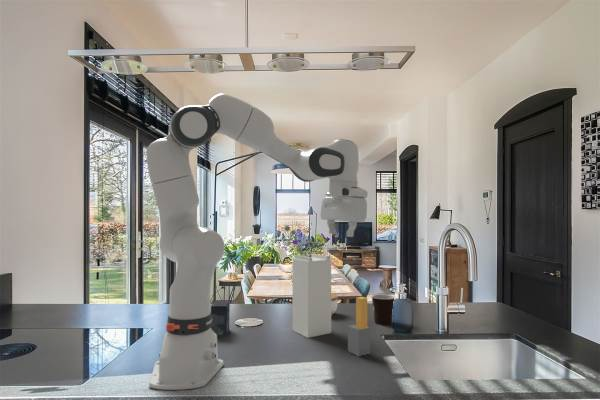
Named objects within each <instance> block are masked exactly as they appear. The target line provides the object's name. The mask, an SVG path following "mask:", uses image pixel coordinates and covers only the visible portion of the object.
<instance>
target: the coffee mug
mask: <svg viewBox="0 0 600 400" xmlns="http://www.w3.org/2000/svg"><path fill="white" fill-rule="evenodd" d="M371 301H372V309H373V319H374V324H376V325H379V326H380V325H381V326H389V325H392V324H393V323H392V322H393V321H392V320H393V315H392V309H393V310H394V306H393V301H394V302H395V296H393V295H390V294H374V295H371Z"/></svg>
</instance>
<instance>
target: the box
mask: <svg viewBox="0 0 600 400" xmlns="http://www.w3.org/2000/svg"><path fill="white" fill-rule="evenodd" d="M230 304H231V301H230V300H214V302H213V303H212V304H210V313H211V314H212V326H211V329H212V330H213V332H214V333H215V334H217V337H226V336H227V334H228V333H229V331H230Z"/></svg>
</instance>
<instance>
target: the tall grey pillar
mask: <svg viewBox="0 0 600 400" xmlns="http://www.w3.org/2000/svg"><path fill="white" fill-rule="evenodd" d="M310 254H311V256H305V255H299V254H294V258H292V299H291V300H292V304H291V305H292V306H291V307H292V309H291V311H292V322H291V323H292V325H291V327H292V332H295V333H296V334H297V333H298V334H300V335H301V336H303V337H306V338H308V339H309V338H313V337H318V336H323V335H327V334H332V316H331V294H332V259H330V256H329V255H324V254H319V253H318V254H317V253H310Z"/></svg>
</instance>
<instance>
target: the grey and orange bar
mask: <svg viewBox="0 0 600 400" xmlns="http://www.w3.org/2000/svg"><path fill="white" fill-rule="evenodd" d="M370 331H371V327H369V326H368V298H367V297H365V296H358V297H355V324H351V325H348V326H347V352H348V351H349V352H351V353H353V354H355V355H357V356H361V355H365V356H367V355H366V354H369V355H370V354H371V332H370ZM349 352H348V353H349ZM351 353H350V354H351ZM353 354H352V355H353ZM355 355H354V356H355ZM357 356H356V357H357ZM361 357H362V356H361Z"/></svg>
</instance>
